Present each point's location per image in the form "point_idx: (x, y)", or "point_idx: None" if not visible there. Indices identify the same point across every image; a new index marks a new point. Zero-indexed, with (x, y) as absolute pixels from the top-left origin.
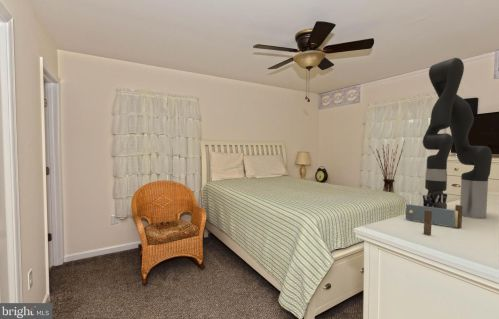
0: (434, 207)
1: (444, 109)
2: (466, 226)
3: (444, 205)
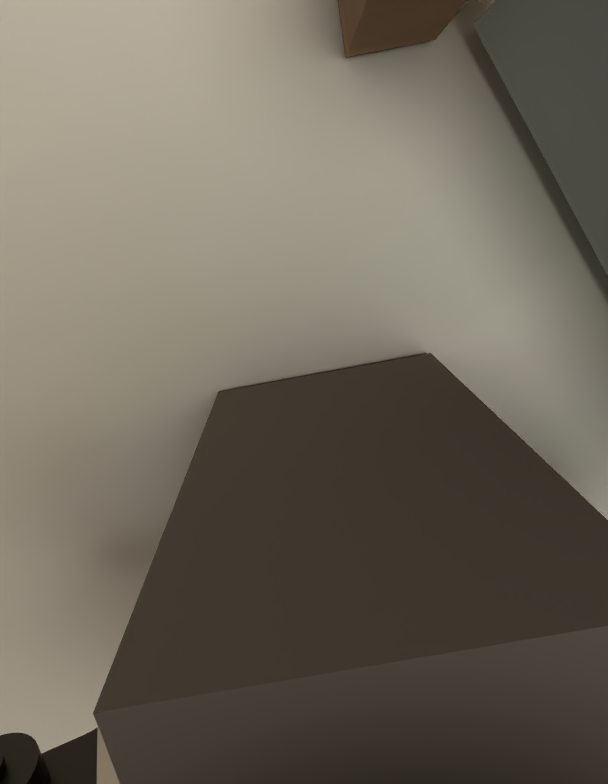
0: None
1: None
2: (67, 52)
3: (315, 615)
